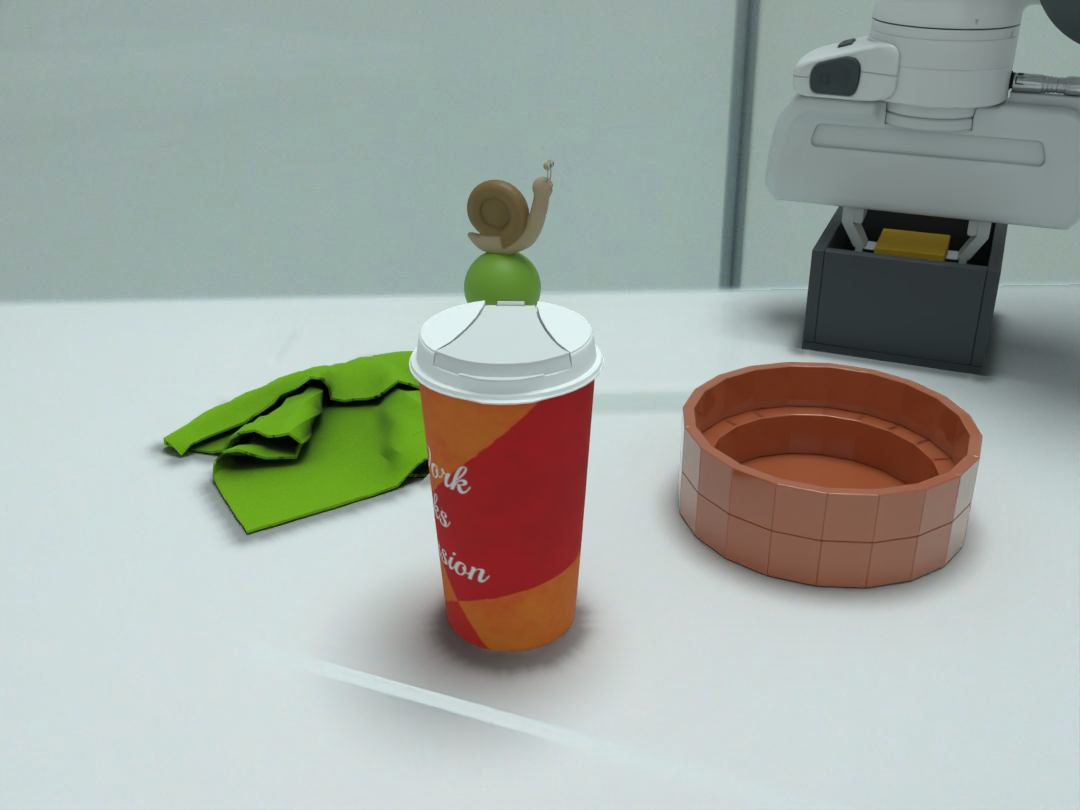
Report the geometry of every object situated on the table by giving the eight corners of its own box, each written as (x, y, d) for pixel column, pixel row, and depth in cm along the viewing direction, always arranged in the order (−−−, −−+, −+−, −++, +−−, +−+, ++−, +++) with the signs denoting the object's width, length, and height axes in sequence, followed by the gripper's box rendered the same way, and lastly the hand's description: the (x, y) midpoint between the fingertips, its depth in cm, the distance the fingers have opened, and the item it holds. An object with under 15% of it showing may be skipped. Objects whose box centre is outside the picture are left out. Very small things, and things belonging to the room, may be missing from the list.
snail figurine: (540, 343, 79) (540, 171, 74) (453, 332, 81) (447, 163, 76) (563, 315, 84) (564, 151, 79) (480, 305, 86) (476, 144, 80)
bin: (991, 314, 84) (1008, 219, 81) (981, 376, 74) (1001, 271, 71) (830, 293, 88) (840, 202, 85) (801, 349, 78) (812, 249, 75)
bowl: (972, 478, 62) (989, 386, 60) (951, 627, 51) (971, 520, 48) (716, 432, 67) (722, 346, 65) (642, 559, 56) (647, 459, 53)
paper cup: (435, 570, 55) (421, 292, 49) (597, 573, 54) (603, 294, 48) (412, 677, 48) (392, 369, 42) (598, 681, 47) (605, 372, 41)
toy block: (941, 296, 81) (950, 235, 79) (934, 318, 78) (944, 255, 76) (875, 288, 83) (883, 228, 81) (866, 310, 79) (874, 247, 77)
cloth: (530, 359, 77) (530, 325, 76) (513, 537, 57) (512, 495, 56) (226, 356, 77) (222, 322, 76) (106, 531, 58) (98, 489, 57)
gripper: (1115, 70, 72) (1070, 279, 78) (788, 50, 79) (771, 243, 85) (1120, 88, 67) (1071, 311, 73) (769, 65, 74) (752, 270, 80)
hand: (907, 274), depth 79 cm, fingers closed on toy block, 4 cm apart
